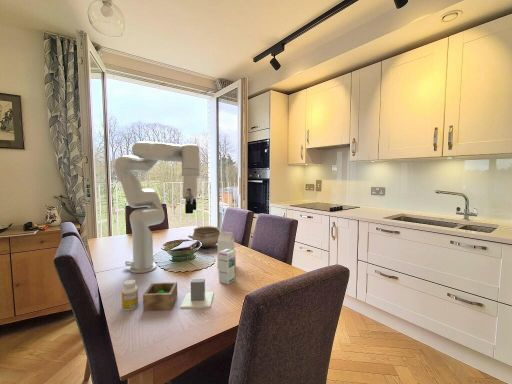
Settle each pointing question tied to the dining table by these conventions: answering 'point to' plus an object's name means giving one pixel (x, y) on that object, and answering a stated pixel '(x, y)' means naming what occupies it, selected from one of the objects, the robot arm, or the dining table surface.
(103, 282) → the dining table surface
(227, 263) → the syrup box
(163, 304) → the box
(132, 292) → the supplement bottle
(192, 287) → the lid
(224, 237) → the milk carton
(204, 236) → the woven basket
